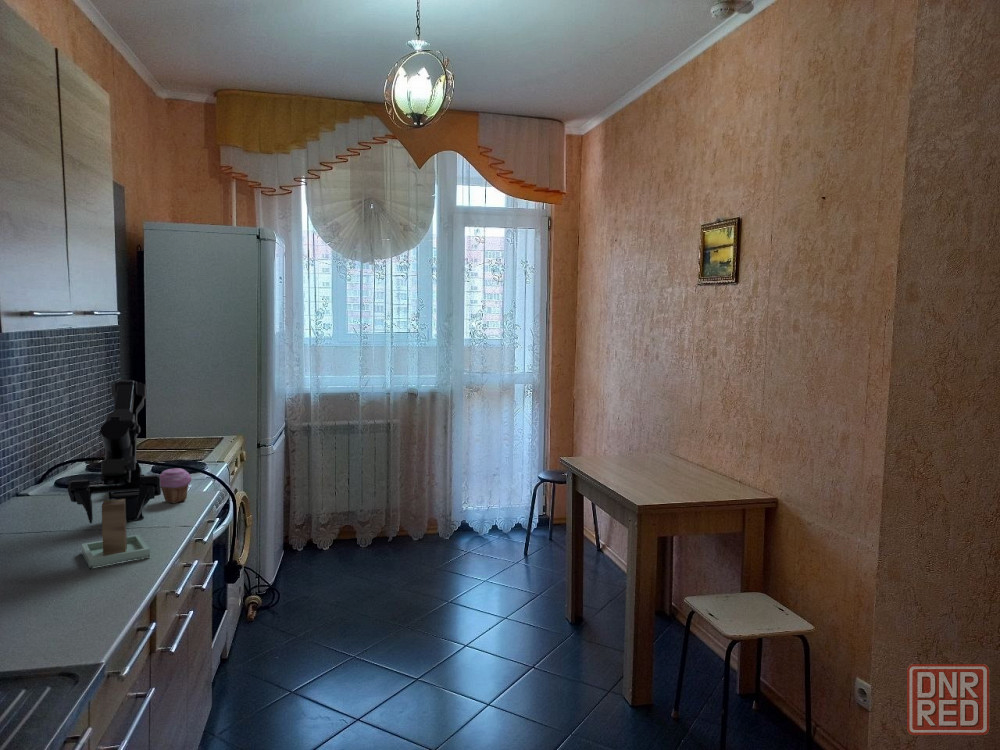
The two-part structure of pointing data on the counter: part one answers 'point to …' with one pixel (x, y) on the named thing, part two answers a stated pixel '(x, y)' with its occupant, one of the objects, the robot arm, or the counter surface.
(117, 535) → the tan wooden block
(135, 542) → the tray
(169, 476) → the cupcake
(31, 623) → the counter surface
